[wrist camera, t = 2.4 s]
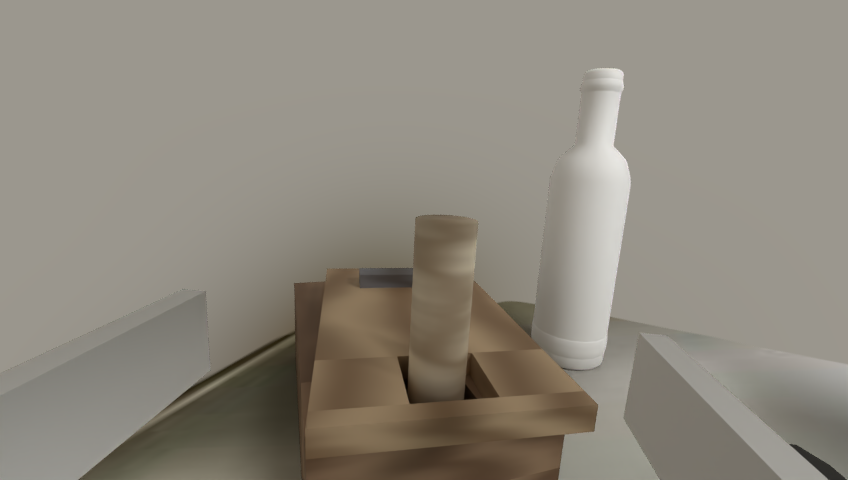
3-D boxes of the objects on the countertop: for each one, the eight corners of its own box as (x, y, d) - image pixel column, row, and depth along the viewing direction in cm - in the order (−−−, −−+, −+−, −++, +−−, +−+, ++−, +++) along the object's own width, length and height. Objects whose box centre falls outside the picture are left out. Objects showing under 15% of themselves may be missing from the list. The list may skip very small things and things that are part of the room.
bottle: (552, 374, 41) (594, 58, 34) (517, 339, 48) (545, 74, 42) (619, 368, 42) (670, 68, 36) (575, 335, 50) (611, 81, 44)
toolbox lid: (460, 281, 43) (462, 257, 43) (594, 431, 20) (601, 383, 20) (327, 283, 40) (327, 257, 40) (305, 459, 17) (304, 404, 17)
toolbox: (423, 342, 46) (426, 276, 44) (551, 525, 24) (568, 405, 22) (295, 356, 41) (294, 283, 40) (307, 597, 19) (305, 454, 18)
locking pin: (445, 432, 25) (460, 214, 22) (468, 469, 22) (490, 224, 20) (397, 443, 24) (406, 215, 21) (415, 483, 21) (430, 226, 18)
